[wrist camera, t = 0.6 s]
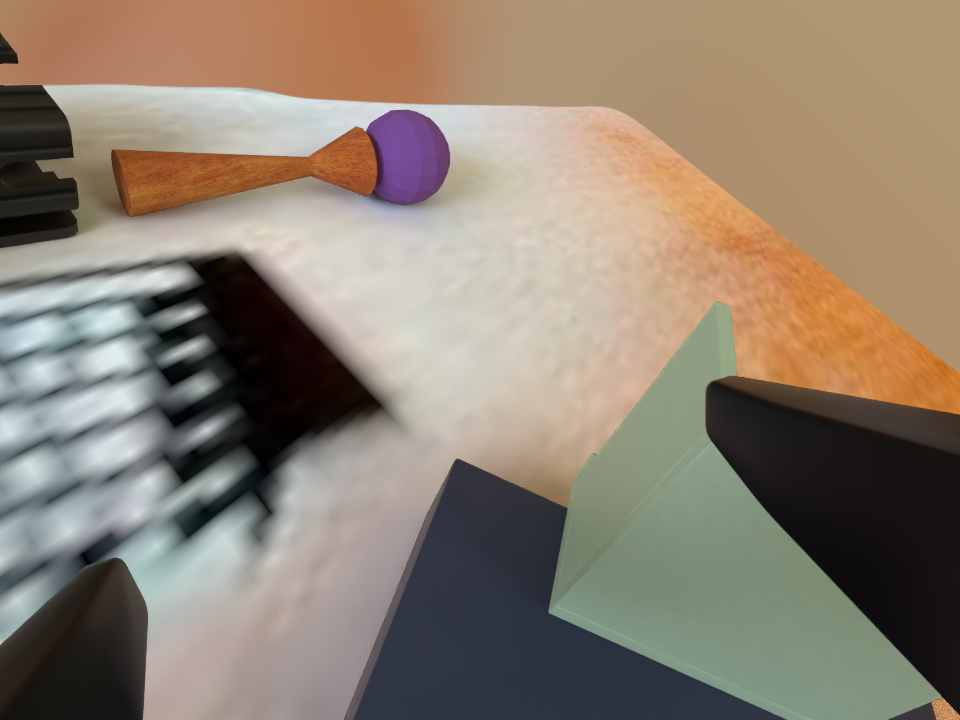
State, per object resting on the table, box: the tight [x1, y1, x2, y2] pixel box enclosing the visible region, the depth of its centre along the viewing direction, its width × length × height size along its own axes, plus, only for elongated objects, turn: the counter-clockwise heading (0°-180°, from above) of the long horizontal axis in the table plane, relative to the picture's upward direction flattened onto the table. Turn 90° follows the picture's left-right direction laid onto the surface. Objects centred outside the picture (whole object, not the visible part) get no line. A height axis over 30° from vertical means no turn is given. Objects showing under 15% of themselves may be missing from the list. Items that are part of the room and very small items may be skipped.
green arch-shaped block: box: [548, 301, 942, 720], centre depth 20 cm, size 6×11×10 cm, turn 74°
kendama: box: [111, 110, 450, 217], centre depth 37 cm, size 6×6×20 cm
